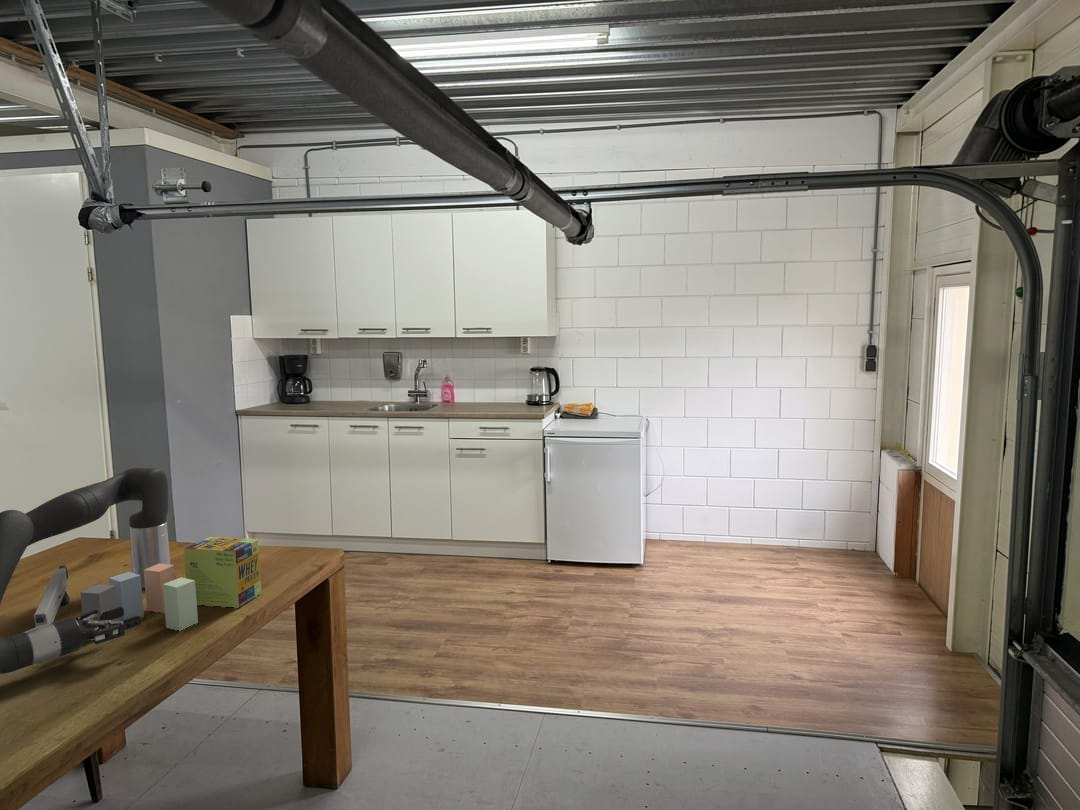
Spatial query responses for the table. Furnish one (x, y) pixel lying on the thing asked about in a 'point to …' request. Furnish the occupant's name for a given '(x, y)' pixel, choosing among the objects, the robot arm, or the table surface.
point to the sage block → (180, 603)
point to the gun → (52, 597)
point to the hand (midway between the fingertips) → (131, 615)
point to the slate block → (128, 594)
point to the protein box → (224, 571)
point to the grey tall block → (99, 599)
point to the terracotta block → (157, 585)
